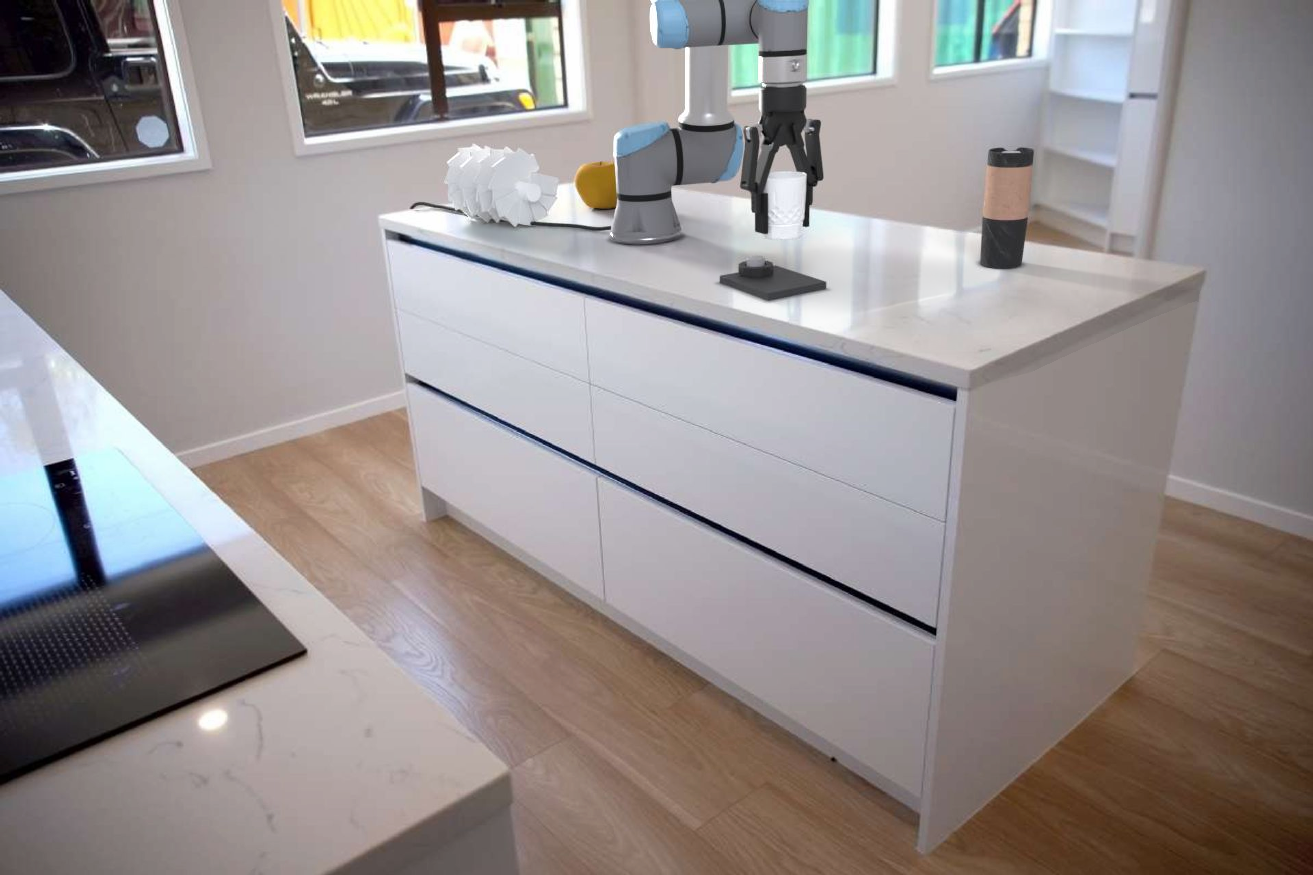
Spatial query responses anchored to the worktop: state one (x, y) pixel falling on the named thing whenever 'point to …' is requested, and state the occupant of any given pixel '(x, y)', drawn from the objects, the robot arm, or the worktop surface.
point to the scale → (771, 281)
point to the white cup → (785, 204)
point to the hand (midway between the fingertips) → (782, 229)
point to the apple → (597, 184)
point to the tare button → (755, 261)
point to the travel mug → (1006, 207)
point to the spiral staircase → (499, 185)
